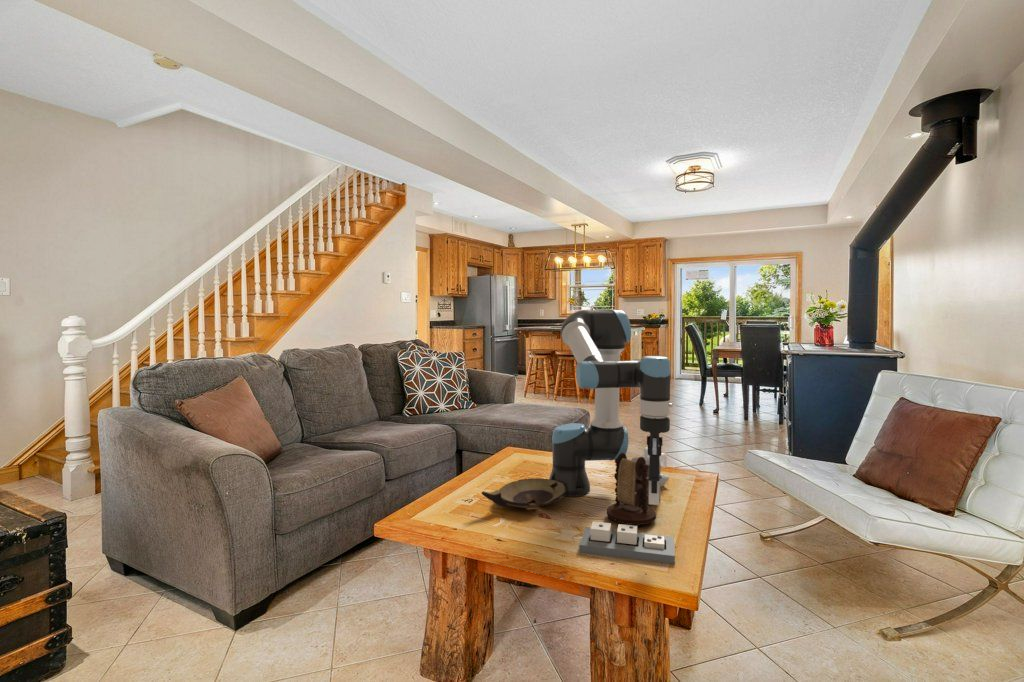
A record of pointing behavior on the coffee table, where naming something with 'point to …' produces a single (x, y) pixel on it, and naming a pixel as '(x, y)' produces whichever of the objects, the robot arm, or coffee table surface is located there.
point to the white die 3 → (654, 541)
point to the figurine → (663, 463)
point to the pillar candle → (637, 486)
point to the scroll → (631, 493)
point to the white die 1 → (601, 531)
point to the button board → (628, 548)
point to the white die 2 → (627, 534)
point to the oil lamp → (527, 493)
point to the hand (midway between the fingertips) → (653, 503)
